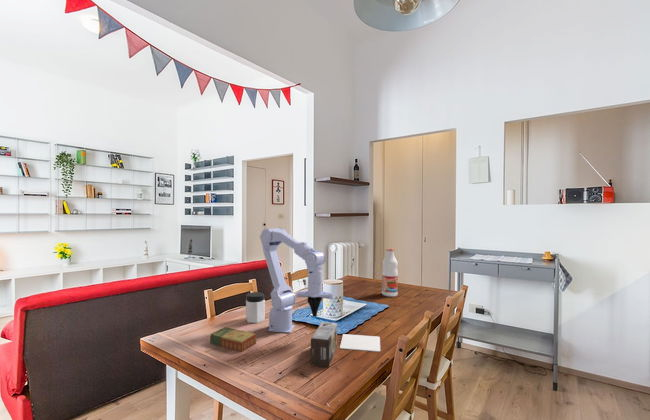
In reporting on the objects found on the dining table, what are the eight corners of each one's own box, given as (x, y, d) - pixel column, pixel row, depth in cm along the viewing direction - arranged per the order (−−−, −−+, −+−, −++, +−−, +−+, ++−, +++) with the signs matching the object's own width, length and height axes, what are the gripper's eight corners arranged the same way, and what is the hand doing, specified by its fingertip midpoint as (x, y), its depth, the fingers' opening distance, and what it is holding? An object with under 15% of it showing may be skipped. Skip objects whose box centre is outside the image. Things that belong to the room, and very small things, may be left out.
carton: (242, 353, 114) (242, 341, 114) (209, 344, 121) (209, 333, 121) (256, 344, 122) (256, 333, 122) (225, 336, 129) (225, 326, 129)
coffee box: (337, 346, 120) (329, 368, 104) (321, 344, 121) (310, 365, 105) (337, 322, 119) (329, 340, 104) (321, 321, 121) (310, 338, 105)
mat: (339, 348, 118) (339, 347, 118) (343, 334, 131) (343, 334, 131) (380, 351, 115) (380, 351, 115) (379, 337, 128) (379, 336, 128)
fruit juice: (389, 291, 197) (389, 247, 197) (400, 295, 190) (401, 248, 189) (378, 294, 192) (379, 248, 192) (390, 297, 184) (390, 250, 184)
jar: (244, 317, 149) (244, 292, 149) (261, 315, 152) (262, 291, 152) (247, 324, 141) (247, 297, 141) (265, 322, 144) (266, 295, 144)
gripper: (294, 283, 123) (294, 318, 123) (331, 285, 120) (331, 320, 121) (299, 279, 130) (298, 312, 130) (334, 280, 127) (333, 314, 127)
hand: (314, 315), depth 126 cm, fingers closed
